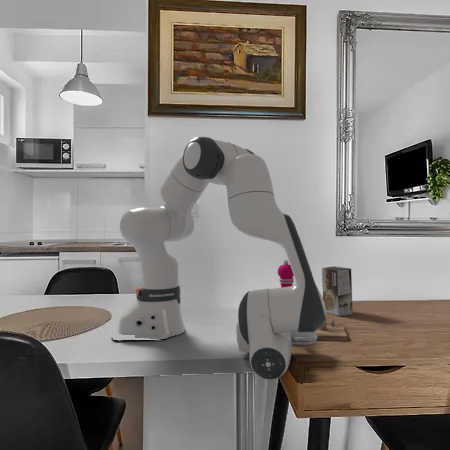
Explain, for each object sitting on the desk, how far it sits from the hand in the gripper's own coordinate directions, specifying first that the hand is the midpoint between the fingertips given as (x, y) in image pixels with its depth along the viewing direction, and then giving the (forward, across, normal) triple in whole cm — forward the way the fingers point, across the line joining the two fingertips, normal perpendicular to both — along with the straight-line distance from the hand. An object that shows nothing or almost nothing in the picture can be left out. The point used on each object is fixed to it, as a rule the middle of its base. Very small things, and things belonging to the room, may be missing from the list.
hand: (276, 323), depth 105 cm
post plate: (+10, -13, +5) cm, 17 cm away
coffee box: (+36, -20, +6) cm, 41 cm away
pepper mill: (+28, -2, +6) cm, 29 cm away
